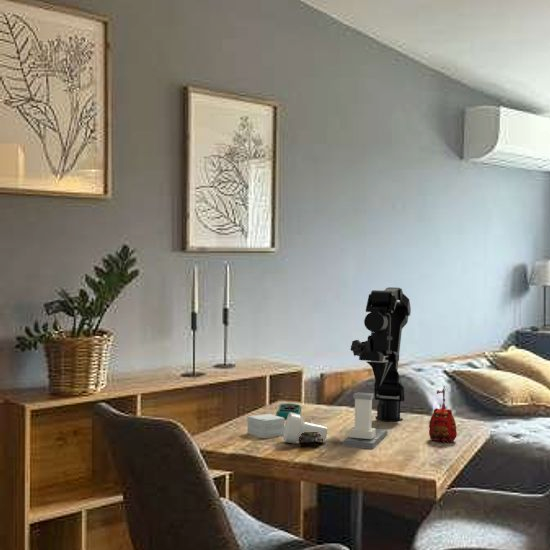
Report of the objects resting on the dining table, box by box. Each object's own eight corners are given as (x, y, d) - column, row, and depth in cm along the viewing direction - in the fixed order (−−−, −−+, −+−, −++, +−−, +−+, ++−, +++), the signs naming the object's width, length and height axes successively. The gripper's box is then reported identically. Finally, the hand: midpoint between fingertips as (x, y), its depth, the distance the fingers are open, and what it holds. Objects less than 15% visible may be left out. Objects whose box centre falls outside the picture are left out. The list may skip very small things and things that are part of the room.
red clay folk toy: (426, 441, 220) (428, 387, 220) (431, 436, 227) (432, 384, 227) (454, 444, 218) (456, 389, 217) (458, 439, 224) (459, 386, 224)
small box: (268, 430, 231) (268, 413, 231) (284, 435, 225) (285, 417, 225) (246, 433, 227) (246, 415, 227) (262, 438, 220) (262, 420, 220)
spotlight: (280, 434, 220) (287, 407, 218) (320, 442, 221) (327, 415, 219) (282, 446, 212) (290, 418, 210) (323, 454, 213) (331, 427, 212)
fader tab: (354, 433, 220) (355, 391, 219) (375, 435, 218) (376, 393, 217) (349, 437, 215) (350, 394, 215) (371, 439, 213) (372, 395, 213)
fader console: (359, 432, 230) (359, 427, 230) (386, 435, 227) (386, 429, 227) (343, 446, 213) (343, 439, 213) (373, 448, 210) (373, 442, 210)
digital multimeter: (301, 412, 263) (301, 403, 263) (300, 421, 248) (300, 411, 248) (279, 412, 263) (279, 403, 263) (276, 420, 249) (276, 411, 249)
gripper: (366, 332, 248) (364, 382, 247) (343, 330, 231) (341, 384, 230) (400, 333, 243) (398, 385, 242) (379, 332, 226) (377, 387, 225)
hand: (378, 385), depth 235 cm, fingers closed
